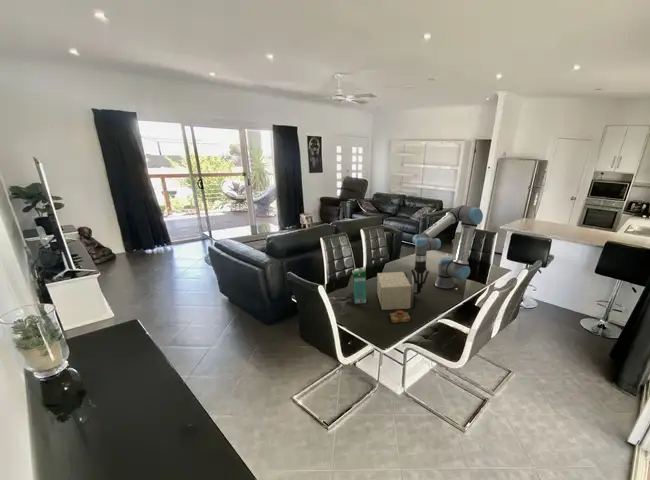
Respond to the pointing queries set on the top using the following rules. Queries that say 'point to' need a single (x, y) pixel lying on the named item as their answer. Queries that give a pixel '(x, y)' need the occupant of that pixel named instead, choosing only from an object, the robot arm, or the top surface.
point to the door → (413, 292)
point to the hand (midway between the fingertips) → (419, 292)
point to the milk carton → (359, 285)
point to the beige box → (393, 290)
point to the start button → (399, 312)
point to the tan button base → (399, 317)
